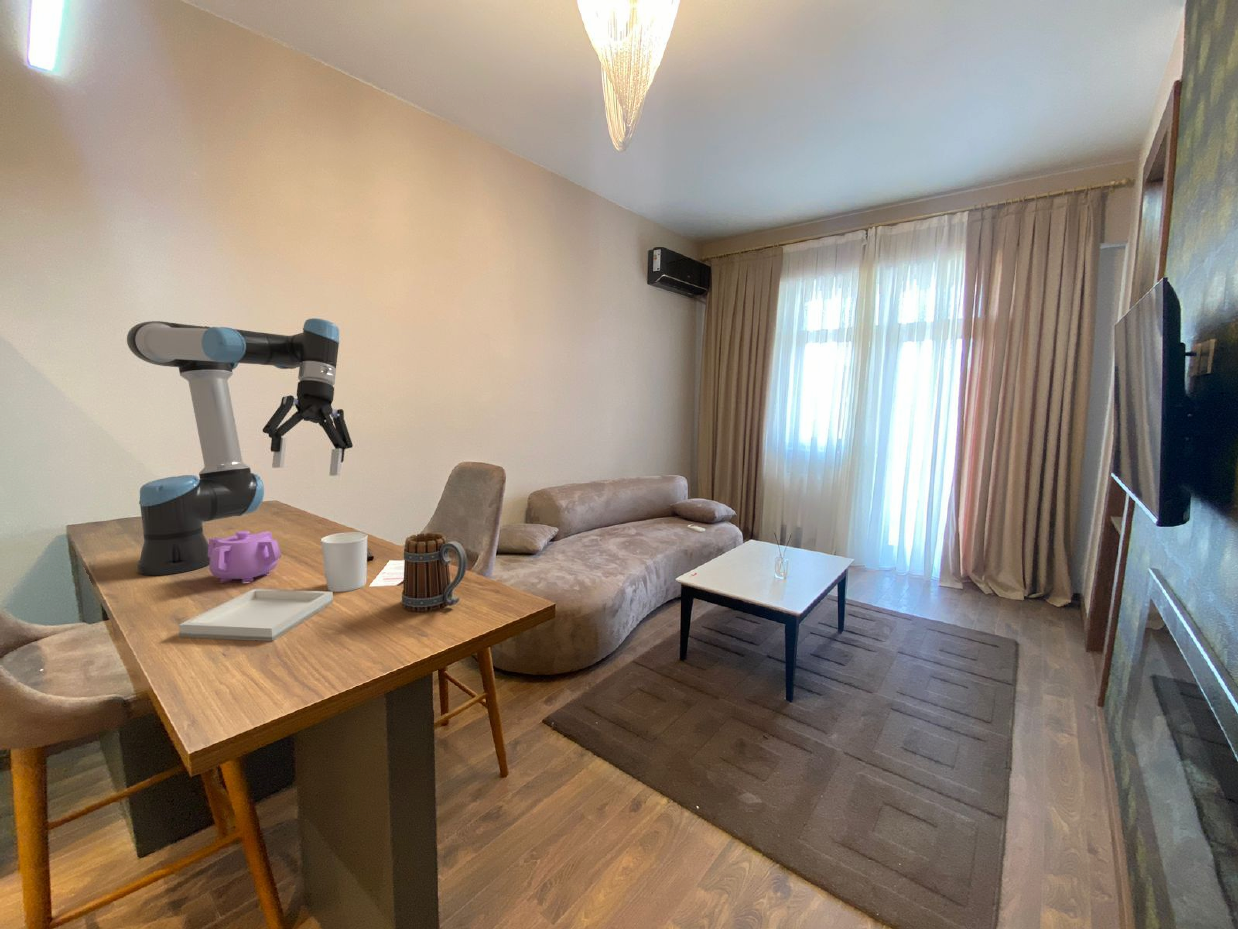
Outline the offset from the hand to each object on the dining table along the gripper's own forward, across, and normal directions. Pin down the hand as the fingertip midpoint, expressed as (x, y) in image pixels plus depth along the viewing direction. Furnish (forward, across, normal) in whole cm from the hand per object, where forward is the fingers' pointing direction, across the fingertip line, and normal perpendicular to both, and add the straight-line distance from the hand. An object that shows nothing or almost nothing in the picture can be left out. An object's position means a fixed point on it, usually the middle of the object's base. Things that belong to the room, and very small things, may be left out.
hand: (307, 471), depth 116 cm
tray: (+32, -8, -3) cm, 33 cm away
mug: (+30, +12, -30) cm, 44 cm away
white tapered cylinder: (+27, +11, -2) cm, 29 cm away
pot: (+25, +4, +25) cm, 35 cm away
